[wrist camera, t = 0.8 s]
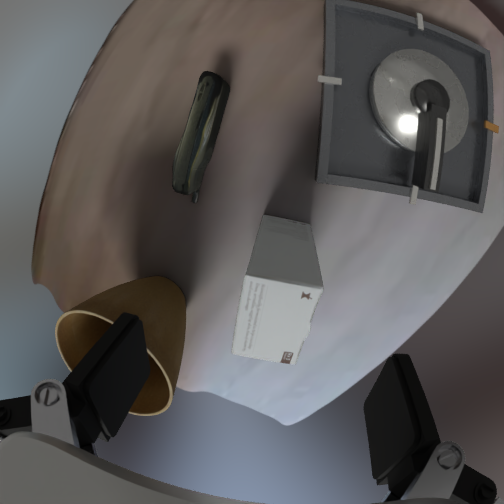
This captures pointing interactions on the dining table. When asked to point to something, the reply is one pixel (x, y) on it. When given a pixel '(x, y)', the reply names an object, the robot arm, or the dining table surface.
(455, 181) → the housing
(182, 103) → the dining table surface
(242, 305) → the skincare box
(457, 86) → the dial
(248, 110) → the dining table surface
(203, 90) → the green cucumber
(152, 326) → the plant pot
